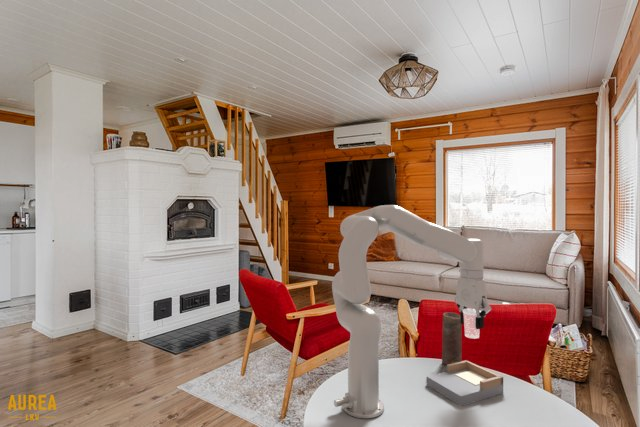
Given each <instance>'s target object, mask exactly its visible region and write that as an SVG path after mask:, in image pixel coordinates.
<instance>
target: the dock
mask: <svg viewBox="0 0 640 427" xmlns="http://www.w3.org/2000/svg"><path fill="white" fill-rule="evenodd" d="M426 386H428V387H429V388H431V389H433V390H434V391H436V392H437V393H439V394H441V395H442V396H444V397H446V398H447V399H450V401H453V402H454V403H456V404H457V405H459V406H465V405H468V404H472V403H475V402H478V401H479V402H480V401H481V400H482V401H483V400H485V399H489V398H493V397H496V396H499V395H503V394H504V376H502V375H500V374H498V373H496V372H494V371H491V370H489V369H487V368H484V367H482V366H480V365H478V364H476V363H473V362H471V361H469V360H467V359H466V360H461V362H457V363H452V364H448V365H446V371H444V372H439V373H435V374H432V375H428V376H427V375H426Z"/></svg>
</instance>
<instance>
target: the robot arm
mask: <svg viewBox="0 0 640 427" xmlns="http://www.w3.org/2000/svg"><path fill="white" fill-rule="evenodd" d="M339 230H340V231H339V232H340V234H341V236H342V237H343V239H342V240H341V242H340V245H339V248H338V263H339V264H338V265H339V271H337V273H336V274H335V275H334V276H333V279H332V282H331V290H332V296H333V297H332V298H333V302H334V308H335V312H336V317H337V321H338V323H339V324H340V325H341V327H342V328H344V329H345V330H346V331H347V332H349V333H350V336H349V337H350V338H349V341H348V346H347V392H345V393H344V397H342V398H338V399H334V400H333V405H334V407H335V408H338V407H341V409H342V410H344V411H345V413H347V414H348V415H349V416H351V417H355V418H358V419H373V418H377V417H379V416H380V415H382V414H383V412H384V411H385V405H384V403H383V401H382V400H380V393H379V392H380V390H379V388H380V387H379V386H380V384H379V381H380V380H379V379H380V378H379V373H380V372H379V369H380V368H379V360H380V359H379V348H380V347H379V346H380V338H381V337H380V336H381V331H382V321H381V319H380V316H379V315H378V313H377V312H376V311H374V310H373V309H372V308H371V307H368V306H366V305H363V304H366V303H367V302H368V301H369V300H370V298H371V297H372V296H371V295H372V286H371V280H370V275H369V268H368V263H367V254H368V251H369V247H370V246H371V244H372V243H373V242H374V241H375V240H376V239H377V236H378V235H379V232H380V231H388V232H390V233H393V234H395V235H397V236H399V237H401V238H403V239H405V240H407V242H411V243H412V244H414V245H417V246H419V247H422V248H427V249H432V250H435V251H436V253H437V255H438V256H439V257H440V258H442V259H443V260H446V261H451V262H452V261H453V262H458V263H459V265H460V266H459V270H458V271H459V276H458V278H457V281H456V282H457V283H456V292H455V297H454V299H453V300H454V302H455V305H456V307H457V308H458V311H459V312H460V314H459V315H460V323H461V324H462V325H464V314H463V309H475V311H476V314H477V317H476V329H484V327H485V324H484V322H485V321H484V320H485V319H484V318H486V316H487V315H488V313H489V312H491V311H492V307H491V306H490V304H489V302H488V296H487V294H488V292H487V285H486V281H485V280H486V279H484V242H483V240H481V239H479V238H467V237H465V236H463V235H462V234H459V233H458V232H455V231H453V230H450V229H447V228H445V227H443V226H440V225H438V224H435V223H433V222H430V221H428V220H426V219H423V218H422V217H420V216H418V215H417V214H414V213H413V212H410V211H409V210H407V209H405V208H403V207H402V206H400V205H399V206H398V205H396V204H384V205H377V206H373V208H368V209H366V210H363V211H360V212H357V213H353V214H350V215H348V216H347V217H345V218H344V219H343V220H342V222H341V223H340V227H339ZM479 310H480V311H481V312H480V311H479Z"/></svg>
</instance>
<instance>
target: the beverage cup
mask: <svg viewBox="0 0 640 427" xmlns="http://www.w3.org/2000/svg"><path fill="white" fill-rule="evenodd" d="M479 311H480V310H479ZM480 312H481V311H480ZM463 314H464V324H463V326H464V336H465V337H466V338H468V339H474V340H475V339H480V333H481V332H480V329H476V317H477V314H476V311H475V309H471V308H468V309H463Z"/></svg>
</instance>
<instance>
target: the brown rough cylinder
mask: <svg viewBox="0 0 640 427" xmlns="http://www.w3.org/2000/svg"><path fill="white" fill-rule="evenodd" d="M462 325H463V324H461V323H460V314H459V313H456V312H451V311H449V312H444V313H443V314H442V347H441V348H442V350H441V351H442V353H441V363H442V364H444V365H446V366H447V365H448V364H452V363H457V362H461V361H462V355H463V354H462V348H463V347H462V335H463V333H462V332H463V331H462V327H463V326H462Z"/></svg>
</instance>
